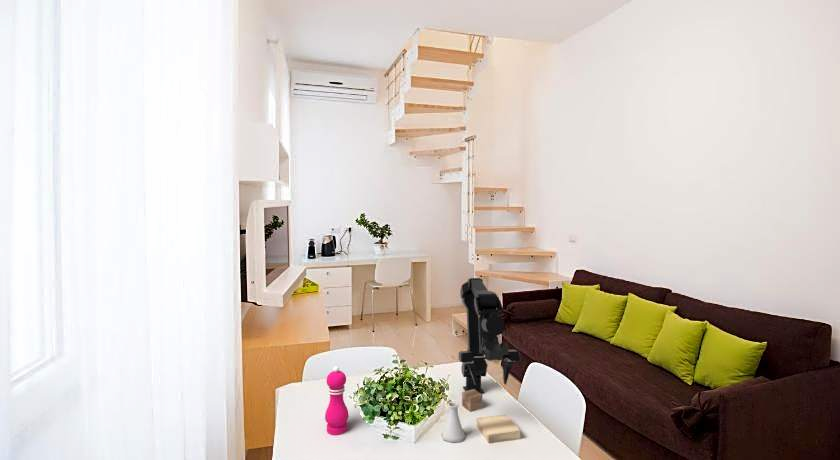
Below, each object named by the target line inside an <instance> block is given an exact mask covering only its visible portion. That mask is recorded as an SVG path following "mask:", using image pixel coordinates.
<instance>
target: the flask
mask: <svg viewBox="0 0 840 460" xmlns="http://www.w3.org/2000/svg"><path fill="white" fill-rule="evenodd" d="M447 406H448V414H447V418H446V420H445V423H444V426H443V429H442V432H441V437H442V440H443V441H446V442H449V443H462V441H463V440H464V439H465V438H466V435H465V433H464V429H463V427H462V423H461V421H460V417H459V416H460V415H459V412H458V407H459V402H455V401H450V402H448V403H447Z"/></svg>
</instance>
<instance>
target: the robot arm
mask: <svg viewBox="0 0 840 460" xmlns="http://www.w3.org/2000/svg"><path fill="white" fill-rule="evenodd" d="M483 281H484V279H483V278H480V277H470V278H468V279H467V281H465V282H464V283H463V284H462V285H461V287H460V294H459V296H460V299H461V303H462V304H463V306H464V307H465V310H466V327H467V331H466V332H467V350H460V351H459V352H458V361H459V362H460V363H462V364H461V374H462V377H463V378H465V386H464V385H463V386H462V389H463V390H464V391H468V390H472V389H475V390H476V391H478V392H479V393H481V394H485V390H484V389H483V388H482V377H487V371H488V370H487V369H488V366H489V364H488V363H487V361H491V362H492V361H502V371H503V372H502V373H503V374H502V375H503V376H502V377H503V384H504V385H505V386H506V385H507V383H508V379H509V376H510V373H511V369H512V367H513V366H514V365H515V364H518V363H517V362H521V361H522V356H521V353H520V351H518V350H516V349H509V344H508V343H507V342H500V341H499V336H501V335H502V334H503V333H504V331H505V329H506V324H505V322H504V319H503V318H502V317H500V316H499V315H502V316H503V313H504V312H503V311H504V308H503V304H502V302H501V299H500V297H499V296H498V294H497V293H496V292H495V291H491V290H489V289H488V288H487V287H486V285H485V283H484V282H483ZM486 360H487V361H486Z"/></svg>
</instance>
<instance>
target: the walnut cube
mask: <svg viewBox="0 0 840 460" xmlns="http://www.w3.org/2000/svg"><path fill="white" fill-rule="evenodd" d="M461 406H462V407H463V408H465V410H467V411H468V412H469V413H472V412H475V411H479V410H483V393H479V392H478V391H476V390H475V389H472V390H468V391H465V390H464V391H462V392H461Z"/></svg>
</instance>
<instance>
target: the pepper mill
mask: <svg viewBox="0 0 840 460" xmlns="http://www.w3.org/2000/svg"><path fill="white" fill-rule="evenodd" d="M346 382H347V376H346V374H345V372H344V371H341V370H340V368H339V366H337V365H335V366H334V367H333V369H332V371H331V372H330V373H328V374H327V377H326V386H328V390H327V394H329V403H328V405H327V408H326V409H325V413H324V419H325V422H326V433H327V434H329V435H333V436H338V435H343V434H344V433H346V432H347V431H348V422H347V421H348V419H349V417H350V415H349V410H348V407H347V405H346V403H345V400H344V392H345V390H346V389H345V387H346V386H345V384H346Z"/></svg>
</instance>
